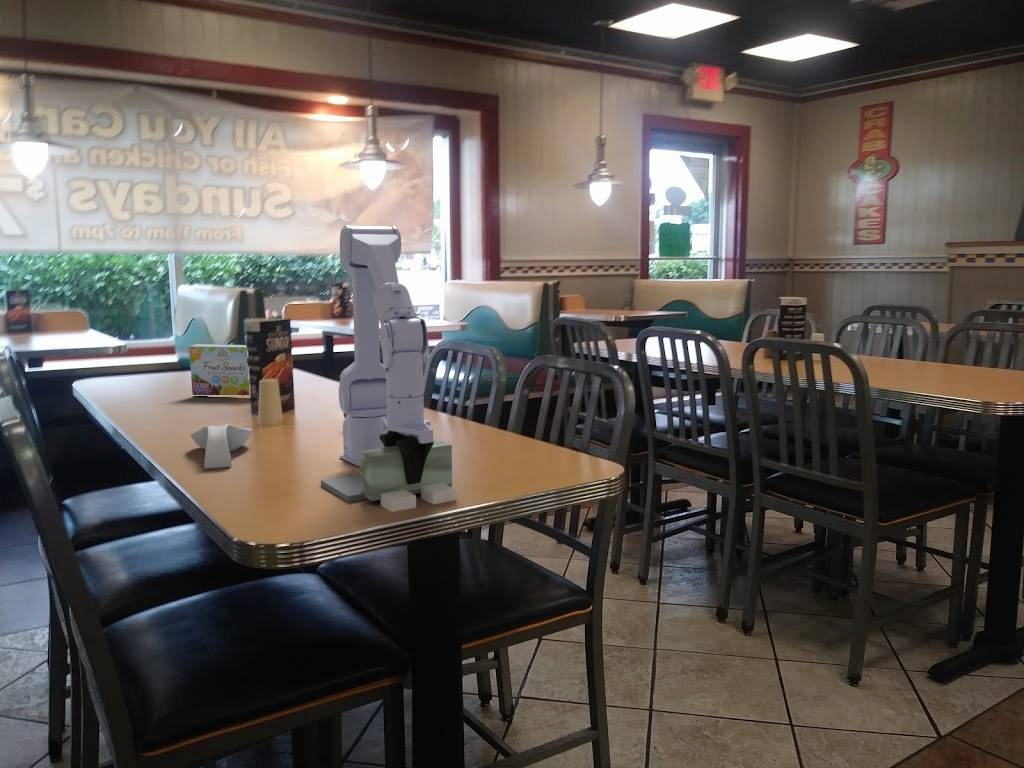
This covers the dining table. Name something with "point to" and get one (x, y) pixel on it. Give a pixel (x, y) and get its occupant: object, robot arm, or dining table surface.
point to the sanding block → (402, 470)
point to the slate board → (345, 487)
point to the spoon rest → (220, 443)
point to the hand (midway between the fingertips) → (407, 480)
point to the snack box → (219, 369)
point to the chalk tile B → (438, 493)
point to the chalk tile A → (398, 500)
